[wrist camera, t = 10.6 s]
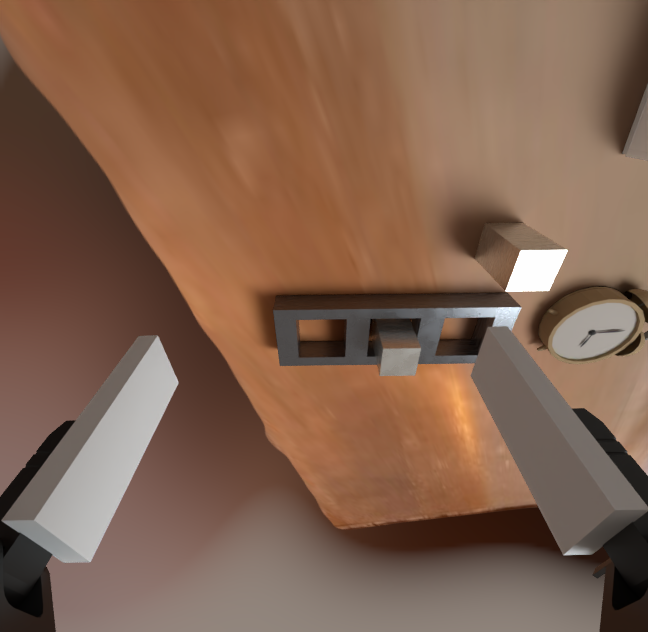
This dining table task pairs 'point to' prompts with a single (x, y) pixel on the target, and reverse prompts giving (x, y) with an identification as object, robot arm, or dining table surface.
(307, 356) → the grey metal flat frame
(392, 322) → the grey rectangular block
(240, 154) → the dining table surface
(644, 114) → the white box with dome
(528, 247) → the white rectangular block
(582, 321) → the alarm clock
